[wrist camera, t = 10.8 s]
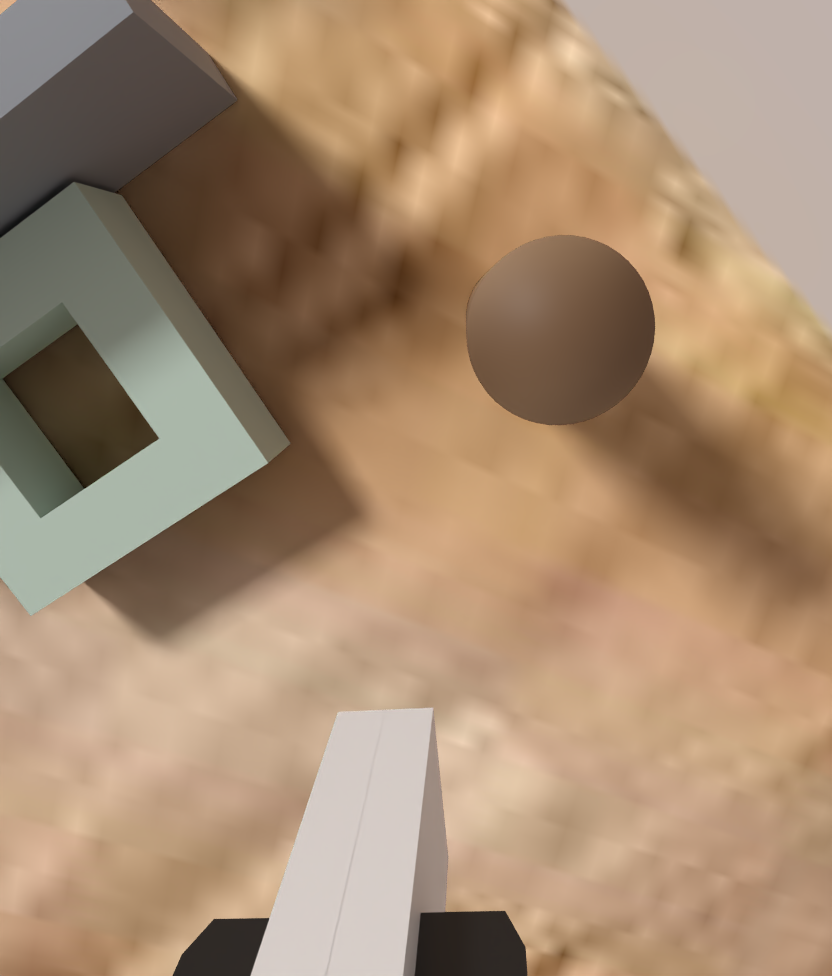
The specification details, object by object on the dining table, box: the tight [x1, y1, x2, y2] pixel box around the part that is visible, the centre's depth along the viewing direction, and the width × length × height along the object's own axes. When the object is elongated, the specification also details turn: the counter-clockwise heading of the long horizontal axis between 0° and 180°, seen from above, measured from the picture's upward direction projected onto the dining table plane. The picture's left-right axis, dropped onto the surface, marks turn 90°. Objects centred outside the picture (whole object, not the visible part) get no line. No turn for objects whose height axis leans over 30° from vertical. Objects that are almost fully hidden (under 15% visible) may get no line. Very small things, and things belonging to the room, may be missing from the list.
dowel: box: [466, 235, 655, 425], centre depth 25 cm, size 4×4×14 cm
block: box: [0, 182, 291, 616], centre depth 32 cm, size 12×12×4 cm
